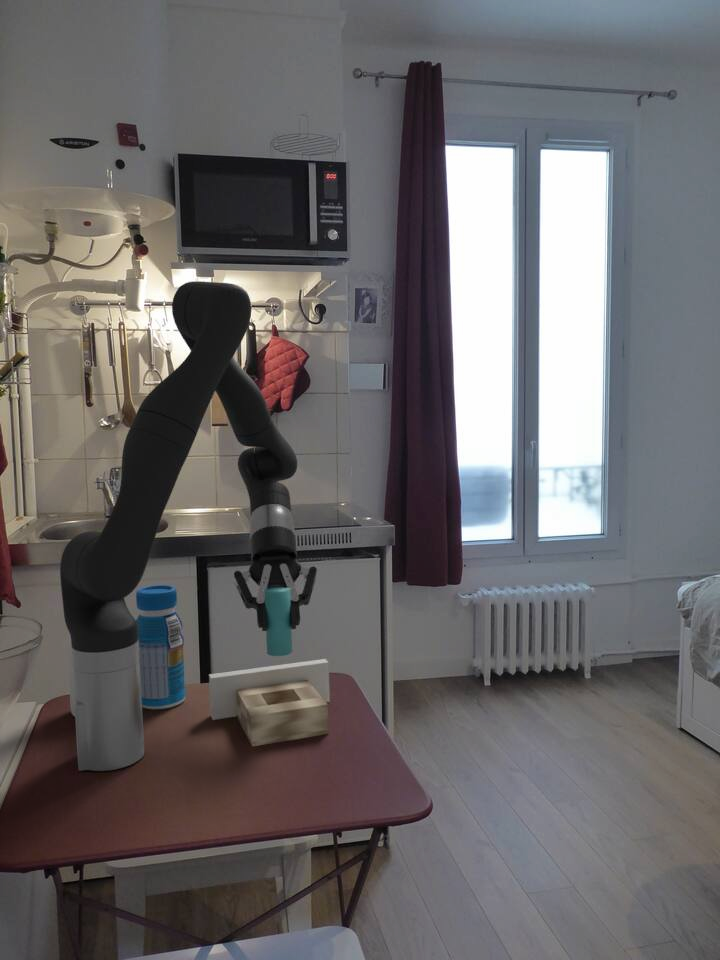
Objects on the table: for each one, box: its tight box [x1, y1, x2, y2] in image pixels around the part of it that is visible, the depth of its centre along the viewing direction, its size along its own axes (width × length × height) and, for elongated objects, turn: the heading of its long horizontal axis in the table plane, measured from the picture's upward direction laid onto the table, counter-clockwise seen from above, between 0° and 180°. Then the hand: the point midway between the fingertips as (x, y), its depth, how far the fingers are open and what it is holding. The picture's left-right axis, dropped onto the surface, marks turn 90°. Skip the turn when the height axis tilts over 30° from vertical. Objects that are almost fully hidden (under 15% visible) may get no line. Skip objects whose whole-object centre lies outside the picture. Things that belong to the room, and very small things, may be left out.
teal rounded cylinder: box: [265, 587, 293, 657], centre depth 124 cm, size 4×4×10 cm
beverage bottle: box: [135, 584, 186, 711], centre depth 136 cm, size 8×8×20 cm
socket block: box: [236, 680, 330, 747], centre depth 126 cm, size 12×12×5 cm
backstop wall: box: [208, 658, 331, 721], centre depth 133 cm, size 20×2×7 cm, turn 109°
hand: (279, 627), depth 122 cm, fingers closed on teal rounded cylinder, 4 cm apart
